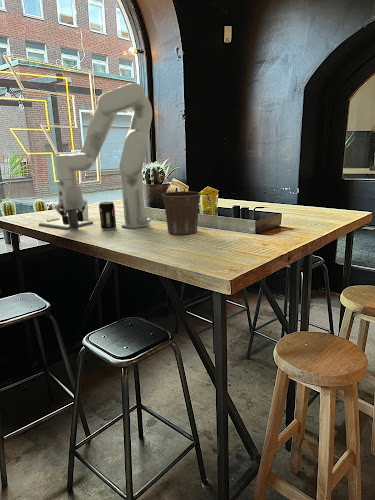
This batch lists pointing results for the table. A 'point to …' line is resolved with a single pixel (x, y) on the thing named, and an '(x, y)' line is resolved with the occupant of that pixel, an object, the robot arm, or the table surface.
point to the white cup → (85, 210)
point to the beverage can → (107, 215)
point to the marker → (73, 220)
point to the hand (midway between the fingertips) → (73, 222)
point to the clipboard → (59, 223)
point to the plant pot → (181, 211)
